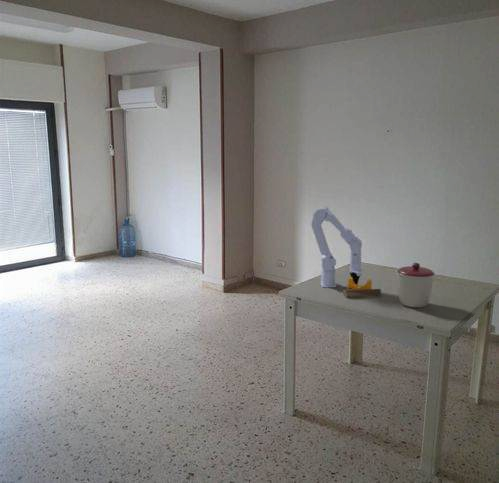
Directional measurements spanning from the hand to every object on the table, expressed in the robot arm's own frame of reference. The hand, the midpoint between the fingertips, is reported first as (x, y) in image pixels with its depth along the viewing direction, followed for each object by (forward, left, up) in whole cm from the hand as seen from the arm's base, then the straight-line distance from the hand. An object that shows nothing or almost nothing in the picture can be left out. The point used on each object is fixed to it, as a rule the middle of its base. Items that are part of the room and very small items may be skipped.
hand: (355, 285), depth 265 cm
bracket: (+13, 0, -1) cm, 13 cm away
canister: (+30, +21, -2) cm, 36 cm away
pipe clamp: (+5, +1, -2) cm, 6 cm away
